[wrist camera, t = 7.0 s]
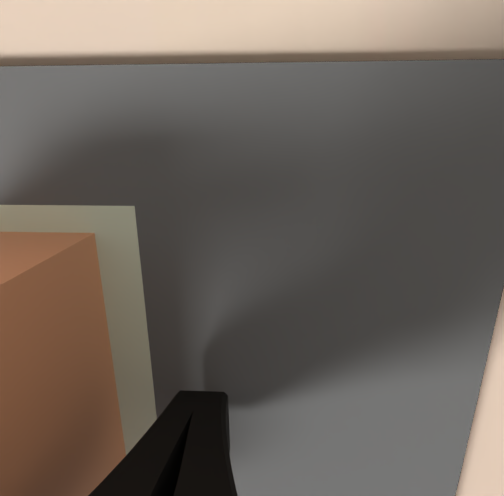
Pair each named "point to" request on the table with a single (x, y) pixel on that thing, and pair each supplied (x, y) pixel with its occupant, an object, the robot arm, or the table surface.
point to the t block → (55, 368)
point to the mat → (282, 250)
